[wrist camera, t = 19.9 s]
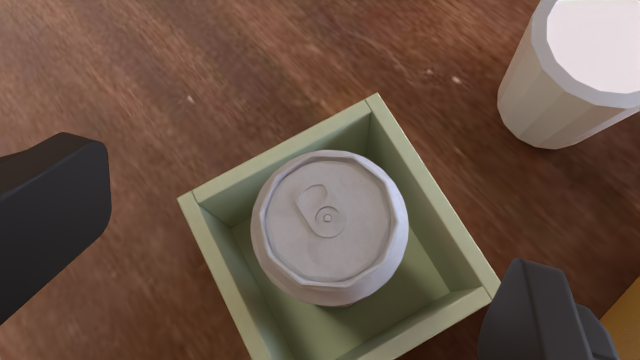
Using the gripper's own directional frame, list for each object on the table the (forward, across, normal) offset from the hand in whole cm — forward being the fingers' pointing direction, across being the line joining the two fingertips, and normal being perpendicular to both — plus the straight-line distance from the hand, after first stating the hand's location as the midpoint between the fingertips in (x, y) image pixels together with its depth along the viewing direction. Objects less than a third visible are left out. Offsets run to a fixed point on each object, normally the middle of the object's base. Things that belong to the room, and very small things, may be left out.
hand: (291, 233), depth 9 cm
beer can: (+12, 0, +11) cm, 16 cm away
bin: (+13, 0, +11) cm, 17 cm away
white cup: (+21, -10, +2) cm, 24 cm away
